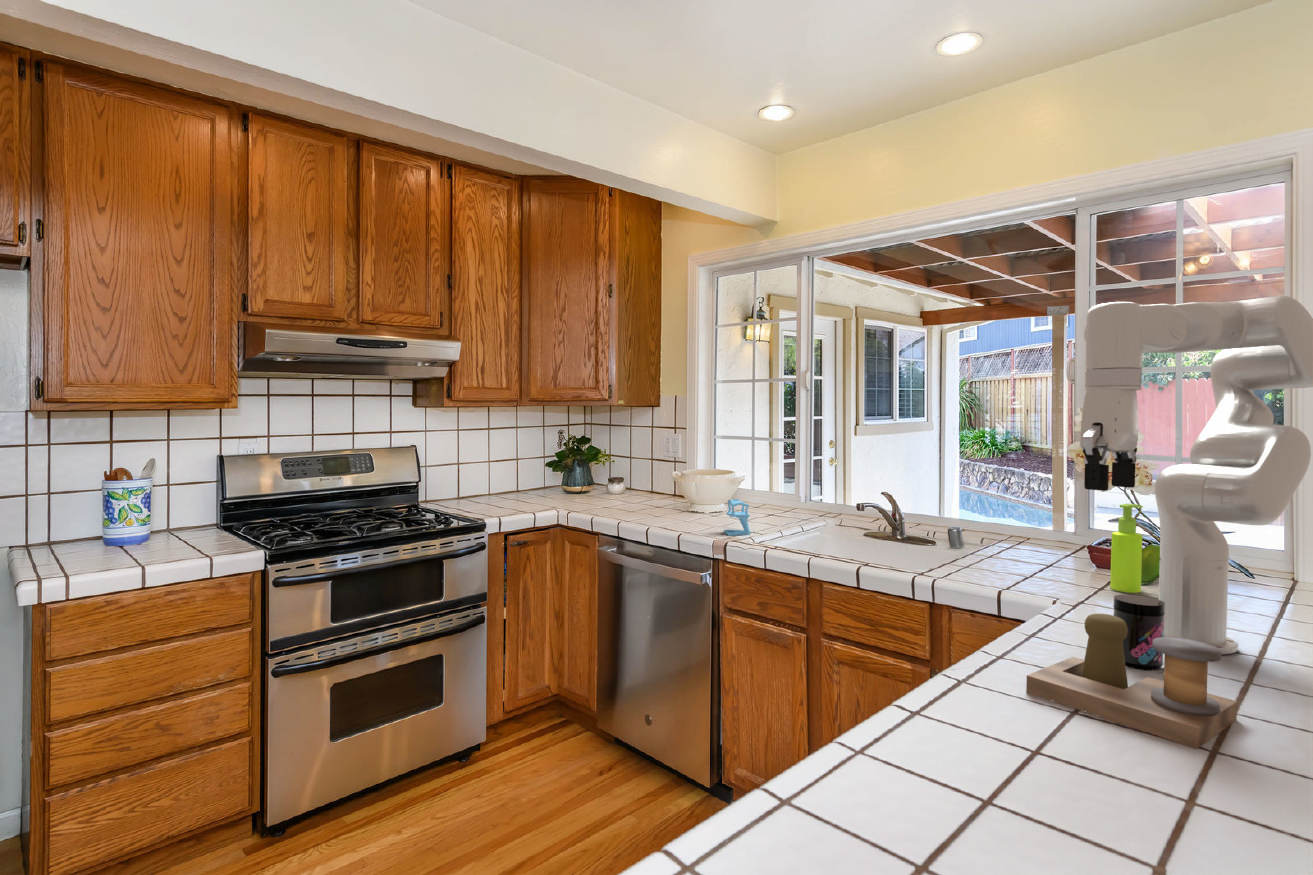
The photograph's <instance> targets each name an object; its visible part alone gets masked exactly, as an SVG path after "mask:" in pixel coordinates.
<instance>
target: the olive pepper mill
mask: <svg viewBox="0 0 1313 875" xmlns="http://www.w3.org/2000/svg"><path fill="white" fill-rule="evenodd" d="M1084 629H1085V633H1086V634H1087V636H1088V639H1087V642H1086V643H1087V644H1086V650H1085V656H1084V659H1083V660H1084V665H1083V670H1082V676H1081V677H1083V678H1087V679H1090V680H1094V681H1097V682H1100V683H1104V684H1107V685H1111V686H1114V687H1118V688H1121V689H1126V688H1128V687H1129V684H1128V675H1127V667H1126V666H1125V658H1124V650H1123V642H1122V641H1123V640H1124V639H1125V638H1126V636H1127V633H1128V629H1127V625H1126V623H1125V621H1124V620H1122V619H1121V618H1119V617H1116V616H1114V614H1107V613H1092V614H1089V615H1087V617H1086V618H1085V620H1084Z"/></svg>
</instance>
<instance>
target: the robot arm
mask: <svg viewBox="0 0 1313 875" xmlns="http://www.w3.org/2000/svg"><path fill="white" fill-rule="evenodd" d="M1083 331H1084V332H1083V333H1084V334H1083V338H1084V342H1085V366H1084V367H1085V368H1084V369H1085V371H1084V373H1085V374H1084V391H1085V394H1084V397H1083V398H1084V399H1083V406H1082V410H1081V411H1082V412H1081V413H1082V414H1081V421H1080V423H1081V424H1080V438H1079V447H1080V450H1082V453H1083V455H1084V458H1083V464H1084V482H1083V483H1084V484H1083V485H1084V486H1083V487H1084V489H1085V490H1092V491H1103V492H1104V491H1108V490H1109V484H1110V483H1109V480H1110V473H1109V471H1110V465H1109V464H1107V462H1108V459H1109V457H1110V454H1112V456H1113V459H1114V461H1112V463H1111V486H1112V487H1119V488H1135V486H1136V466H1137V465H1136V462H1137V456H1136V453H1137V452H1138V447H1137V446H1138V441H1139V408H1138V406H1139V405H1138V393H1137V391H1141V390H1142V383H1143V382H1142V380H1143V376H1142V375H1143V354H1146V353H1147V354H1150V353H1151V354H1152V353H1153V354H1156V353H1157V354H1159V353H1160V354H1178V353H1179V354H1180V353H1195V352H1210V351H1220V352H1218V353H1217V354H1215V356H1214V357H1213V359H1212V361H1211V363H1210V372H1209V373H1210V380H1211V387H1212V390H1213V391H1212V392H1213V393H1212V394H1213V397H1214V402H1215V409H1214V412H1213V414H1212V415H1211V416H1210V418H1209V420H1208V421H1207V423H1206V424H1205V426H1204V427H1203V428H1202V430H1201V431H1200V433H1199V434H1198V436H1197V437H1196V439H1195V441H1194V442H1193V444H1192V446H1191V448H1190V452H1189V453H1190V454H1189V461H1190V462H1191V463H1182V464H1174V465H1171V466H1168V467H1166V468H1164V469H1163V470H1162V471H1161V472H1159V473H1158V475H1157V477H1156V479H1155V482H1154V495H1155V502H1156V506H1157V512H1158V516H1159V518H1158V519H1159V532H1160V534H1159V535H1160V536H1159V540H1160V542H1159V570H1158V572H1159V574H1158V575H1159V577H1158V600H1160V601H1163V602H1164V603H1165V614H1164V637H1171V638H1181V639H1188V640H1193V641H1198V642H1202V643H1205V644H1209V645H1212V646H1214V647H1216V648H1218V649H1220V650H1221V652H1222V655H1230V654H1234V653H1237V652H1239V645H1238V642H1237V641H1235V640H1234V639H1233V638H1229V637H1227V629H1228V628H1227V624H1228V622H1227V621H1228V598H1229V597H1228V594H1229V593H1228V590H1229V589H1228V588H1229V564H1230V561H1229V559H1230V548H1229V544H1228V542H1227V539H1226V538H1225V536H1224V534H1223V532H1222V531H1221V529H1220V528H1219V527H1218V525H1217V524H1216V523H1215V522H1220V523H1227V524H1236V525H1237V524H1238V525H1246V526H1247V525H1248V526H1267V525H1270V524H1272V523H1273V522H1275V521H1277V519H1278V518H1279V517H1280V516H1281V515H1282V514H1283V513H1284V510H1285V509H1286V508H1287V506H1288V504H1289V502H1290V501H1291V499H1292V497H1293V496H1294V493H1296V491H1297V489H1298V487H1299V485H1300V484H1301V482H1302V481H1303V479H1304V477H1305V475H1306V473H1307V471H1308V468H1309V465H1310V463H1311V456H1312V455H1311V453H1312V452H1311V450H1312V449H1311V444H1310V440H1309V439H1308V436H1307V435H1306V434H1305V433H1303V431H1301V430H1300V429H1298V428H1296V427H1294V426H1290V425H1285V424H1283V425H1282V424H1274V420H1275V417H1274V414H1273V411H1272V410H1271V409H1270V407H1269V406H1268V405H1267V404H1266V403H1265V402H1264V401H1263V400H1262V399H1261V398H1260V397H1258V395H1255V392H1254V391H1255V390H1279V389H1280V390H1282V389H1284V390H1287V389H1307V388H1313V316H1312V315H1311V314H1310V313H1309V311H1308V310H1307V309H1306V307H1305V306H1304V305H1303V304H1302V303H1300V301H1298V300H1297V299H1295V298H1293V297H1291V296H1288V295H1276V296H1268V297H1260V298H1252V299H1245V300H1233V301H1209V302H1204V301H1200V302H1199V301H1195V302H1184V303H1177V304H1170V303H1157V304H1156V303H1155V304H1139V303H1137V302H1132V301H1114V302H1107V303H1100V304H1096V305H1093V306H1092V307H1091V308H1089V309H1088V311H1087V315H1086V325H1085V326H1084V330H1083Z"/></svg>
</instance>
